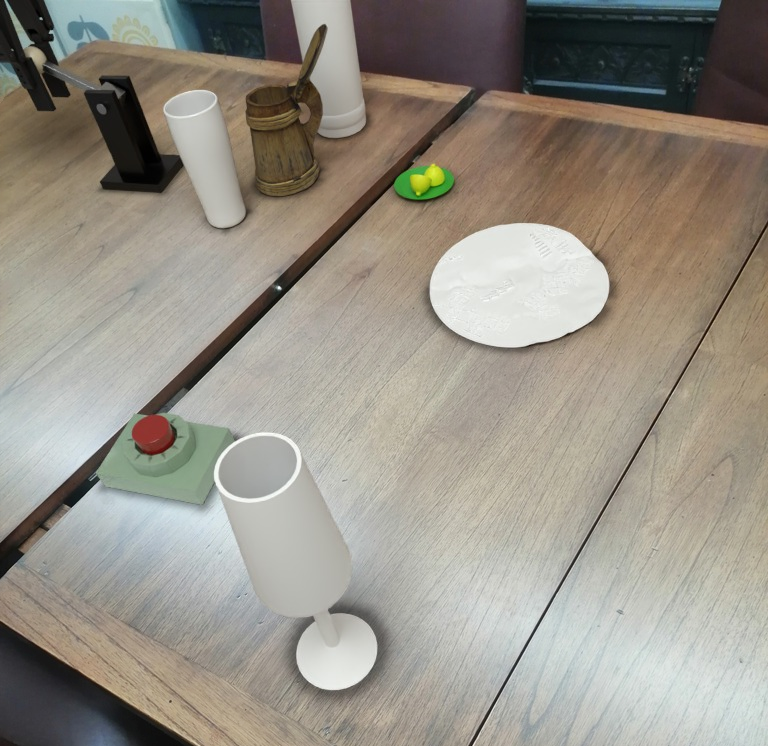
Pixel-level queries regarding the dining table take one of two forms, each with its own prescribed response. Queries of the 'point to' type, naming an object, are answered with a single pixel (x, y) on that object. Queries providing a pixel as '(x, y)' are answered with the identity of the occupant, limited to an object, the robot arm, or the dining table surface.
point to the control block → (167, 461)
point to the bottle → (333, 64)
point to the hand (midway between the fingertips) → (54, 102)
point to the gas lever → (69, 74)
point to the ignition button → (153, 434)
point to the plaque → (518, 285)
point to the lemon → (424, 182)
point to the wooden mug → (286, 128)
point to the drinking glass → (206, 154)
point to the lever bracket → (129, 140)
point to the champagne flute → (294, 554)
